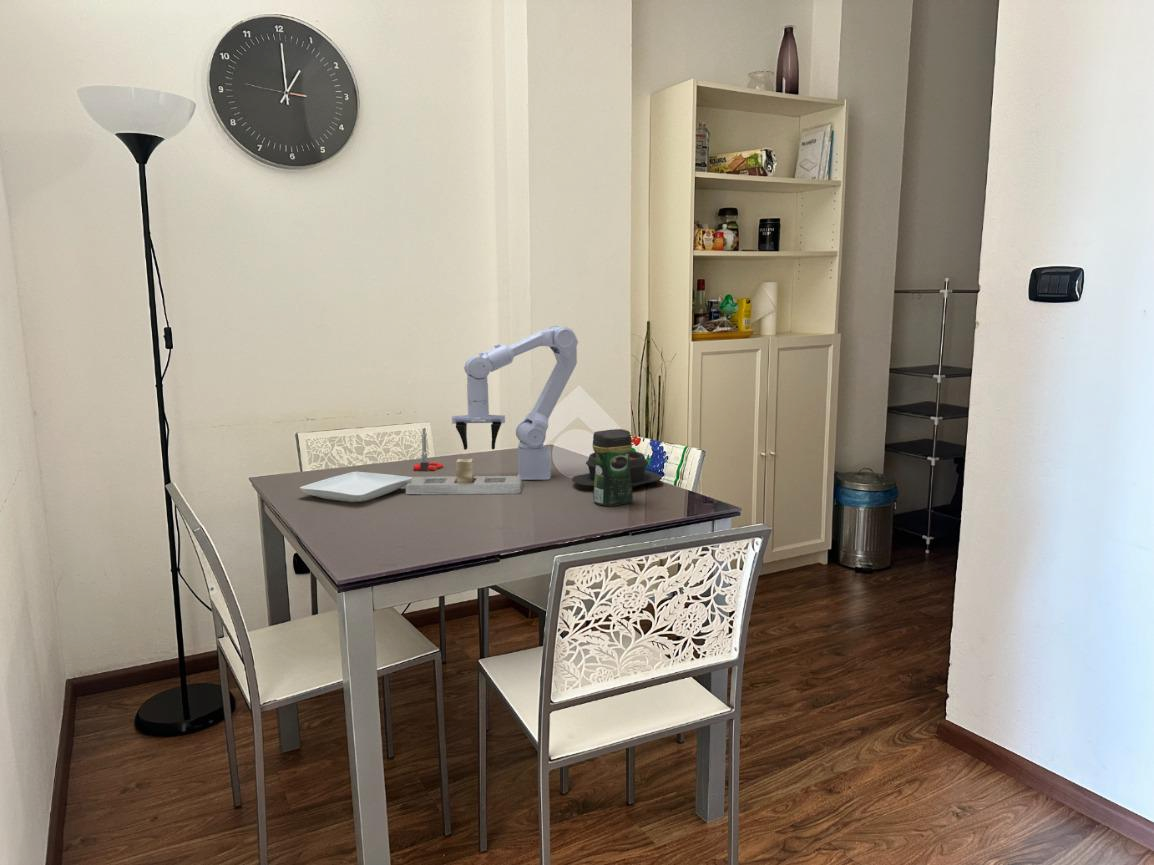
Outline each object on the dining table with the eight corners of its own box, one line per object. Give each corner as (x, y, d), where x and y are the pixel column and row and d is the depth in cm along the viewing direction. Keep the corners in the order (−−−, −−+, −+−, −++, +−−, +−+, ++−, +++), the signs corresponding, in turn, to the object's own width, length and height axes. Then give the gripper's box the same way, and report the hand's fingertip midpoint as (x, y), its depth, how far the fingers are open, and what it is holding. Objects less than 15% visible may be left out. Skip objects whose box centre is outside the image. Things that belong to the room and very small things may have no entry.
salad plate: (298, 498, 213) (297, 486, 212) (355, 481, 231) (354, 469, 231) (360, 507, 203) (359, 494, 203) (415, 489, 222) (414, 476, 221)
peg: (473, 487, 223) (473, 458, 222) (472, 491, 219) (471, 461, 218) (459, 487, 223) (458, 458, 222) (457, 491, 219) (456, 462, 218)
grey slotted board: (522, 484, 226) (522, 475, 226) (519, 493, 216) (519, 484, 216) (413, 485, 226) (413, 476, 226) (406, 494, 216) (405, 485, 216)
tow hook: (419, 466, 254) (410, 471, 245) (418, 424, 252) (409, 428, 243) (446, 466, 253) (437, 471, 244) (445, 424, 251) (436, 428, 242)
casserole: (582, 496, 213) (581, 464, 212) (564, 480, 231) (564, 451, 229) (672, 489, 219) (672, 458, 218) (648, 474, 237) (648, 446, 236)
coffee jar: (622, 496, 212) (622, 425, 209) (637, 503, 205) (637, 430, 202) (588, 501, 208) (587, 428, 205) (602, 508, 201) (602, 433, 198)
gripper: (449, 402, 222) (451, 451, 224) (503, 402, 222) (504, 451, 224) (453, 399, 229) (455, 446, 231) (505, 398, 229) (506, 446, 231)
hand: (479, 448), depth 228 cm, fingers open, 7 cm apart
